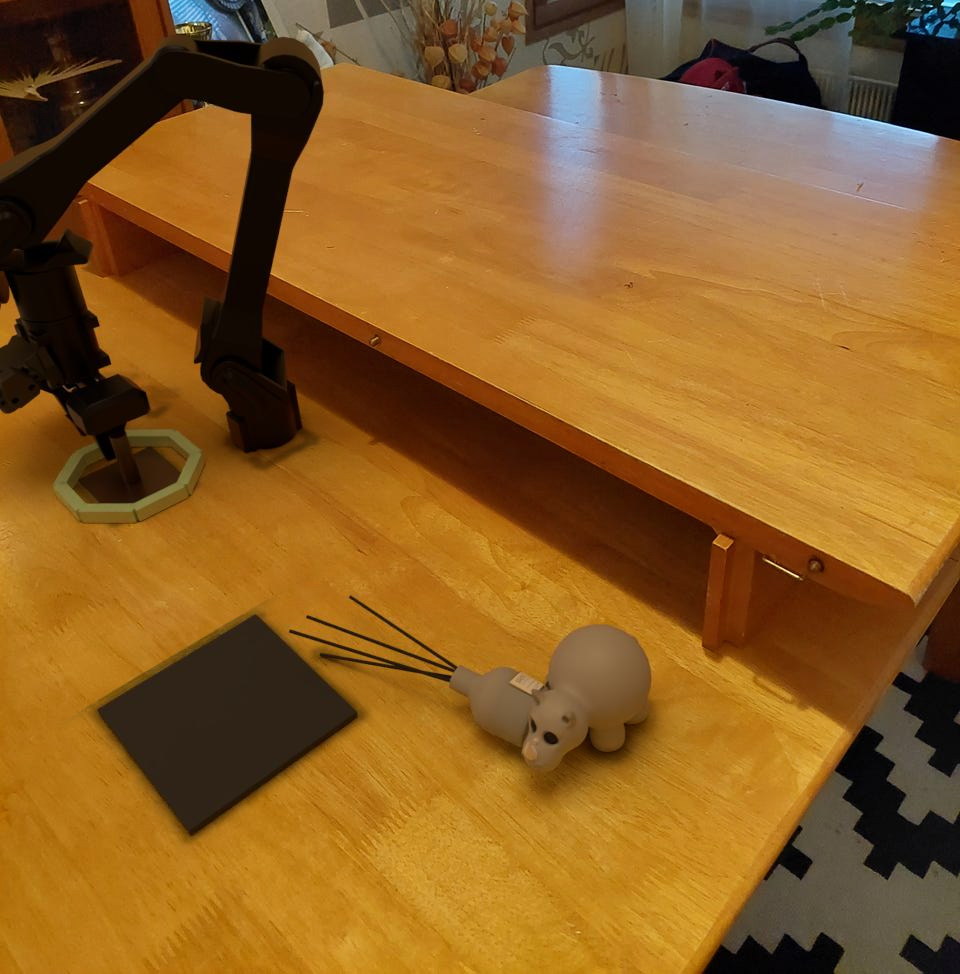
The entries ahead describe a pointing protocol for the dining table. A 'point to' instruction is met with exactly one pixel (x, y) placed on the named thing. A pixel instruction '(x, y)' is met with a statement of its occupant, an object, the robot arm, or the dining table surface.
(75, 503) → the ring
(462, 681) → the reed diffuser
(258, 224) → the robot arm
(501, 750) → the dining table surface
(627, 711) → the round bodied animal figurine
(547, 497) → the dining table surface
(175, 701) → the mat
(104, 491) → the stand
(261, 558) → the dining table surface
